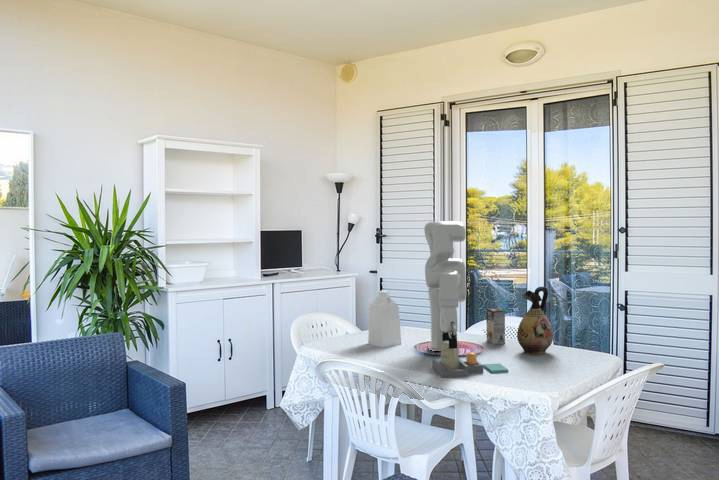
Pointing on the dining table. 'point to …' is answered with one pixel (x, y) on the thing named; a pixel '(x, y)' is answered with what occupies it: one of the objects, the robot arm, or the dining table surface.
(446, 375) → the socket block
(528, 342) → the ceramic jug
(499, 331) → the coffee box
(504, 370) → the mat
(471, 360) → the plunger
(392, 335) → the milk
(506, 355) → the dining table surface
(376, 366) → the dining table surface
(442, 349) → the skincare box
